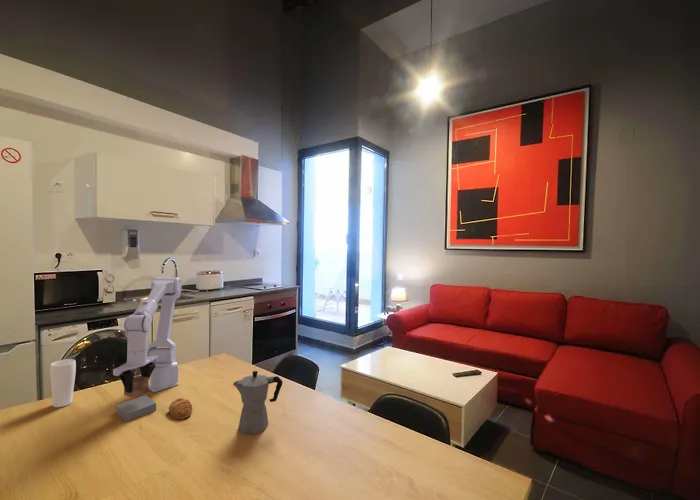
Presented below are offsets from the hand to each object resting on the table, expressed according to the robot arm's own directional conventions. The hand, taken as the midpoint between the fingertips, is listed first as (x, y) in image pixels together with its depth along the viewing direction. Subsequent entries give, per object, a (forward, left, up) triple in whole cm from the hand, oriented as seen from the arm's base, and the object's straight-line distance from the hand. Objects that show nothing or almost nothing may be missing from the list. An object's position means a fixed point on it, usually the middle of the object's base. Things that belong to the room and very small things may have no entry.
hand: (136, 388), depth 109 cm
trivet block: (0, 0, -8) cm, 8 cm away
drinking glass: (+15, -24, -8) cm, 29 cm away
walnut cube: (0, 0, -2) cm, 2 cm away
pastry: (-10, +12, -8) cm, 18 cm away
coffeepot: (-22, +38, -8) cm, 45 cm away
